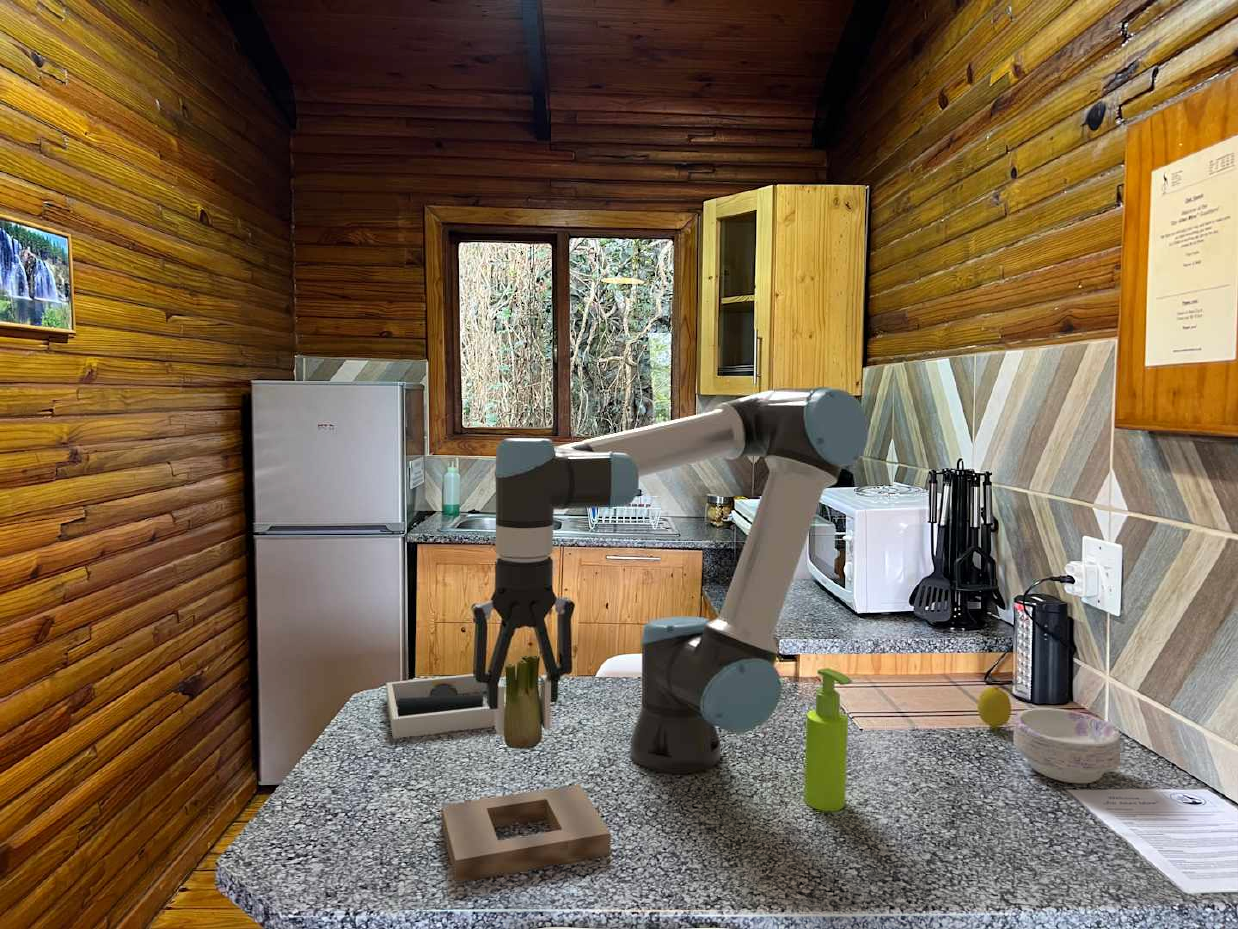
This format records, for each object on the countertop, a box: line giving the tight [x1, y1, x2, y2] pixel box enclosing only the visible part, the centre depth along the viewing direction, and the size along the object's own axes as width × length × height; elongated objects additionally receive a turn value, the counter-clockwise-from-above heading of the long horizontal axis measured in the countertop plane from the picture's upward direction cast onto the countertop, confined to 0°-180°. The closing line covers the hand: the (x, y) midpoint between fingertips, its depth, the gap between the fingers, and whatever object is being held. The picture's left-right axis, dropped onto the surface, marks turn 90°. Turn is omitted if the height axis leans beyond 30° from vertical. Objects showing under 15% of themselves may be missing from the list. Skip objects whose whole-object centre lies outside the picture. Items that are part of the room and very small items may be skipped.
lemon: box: [977, 685, 1012, 730], centre depth 147 cm, size 6×6×8 cm
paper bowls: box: [1012, 707, 1122, 784], centre depth 130 cm, size 15×15×8 cm
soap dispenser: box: [803, 668, 853, 812], centre depth 118 cm, size 6×7×20 cm
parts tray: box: [385, 673, 506, 740], centre depth 152 cm, size 21×19×4 cm
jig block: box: [441, 783, 611, 884], centre depth 108 cm, size 20×14×3 cm
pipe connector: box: [397, 682, 484, 717], centre depth 150 cm, size 12×5×15 cm
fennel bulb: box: [503, 654, 543, 750], centre depth 107 cm, size 6×5×12 cm
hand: (522, 728), depth 107 cm, fingers closed on fennel bulb, 5 cm apart
